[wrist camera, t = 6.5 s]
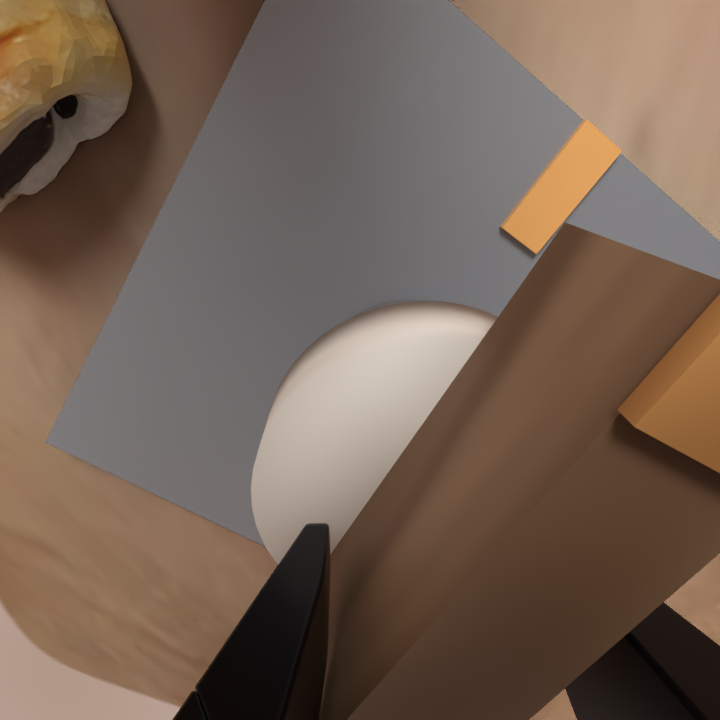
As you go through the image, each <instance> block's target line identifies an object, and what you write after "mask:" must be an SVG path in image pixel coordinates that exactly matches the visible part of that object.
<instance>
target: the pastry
mask: <svg viewBox="0 0 720 720" xmlns="http://www.w3.org/2000/svg"><path fill="white" fill-rule="evenodd" d="M131 88H132V77H131V71H130V66H129V62H128V58H127V54H126V50H125V47H124V44H123V41H122V38H121V36H120V34H119V31H118V29H117V26H116V24H115V22H114V20H113V18H112V16H111V13H110V11H109V8H108V6H107V3H106V1H105V0H0V212H1V211H2V210H3V209H4V208H5V207H6V205H7V204H8V203H10V202H12V201H14V200H15V199H16V198H17V197H18V196H19V195H21V194H25V195H32V194H34V193H37V192H38V191H40V190H41V189H43V188H44V187H45V186H46V185H48V184H49V183H50V182H51V181H52V180H54V179H55V178H56V176H57V174H58V172H59V170H60V169H61V168H62V166H63V165H64V164H65V163H66V162H67V161H69V159H70V157H71V156H72V154H73V152H74V150H75V148H76V146H77V145H78V143H79V142H81V141H84V140H87V139H94V138H96V137H98V136H101V135H102V134H104V133H105V132H107V131H108V130H109V129H110V128H111V126H112V125H113V124H114V123H115V122H116V121H117V120H118V119H119V118H120V117H121V116H122V115H123V114H124V113H125V111H126V108H127V104H128V100H129V96H130V92H131Z"/></svg>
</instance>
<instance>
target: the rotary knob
mask: <svg viewBox="0 0 720 720" xmlns="http://www.w3.org/2000/svg"><path fill="white" fill-rule="evenodd" d="M251 500H252V510H253V514H254V519H255V523H256V526H257V529H258V531H259V534H260V536H261V539H262V541H263V543H264V545H265V547H266V548H267V550H268V552H269V553H270V555H271V557H272V558H273V559H274V561H275V562H276V563H277V564H279V563H280V561H281V560H282V558H283V557H284V555H285V554H286V552H287V551H288V550H289V548H290V547H291V545H292V544H293V542H294V541H295V539H296V538H297V536H298V535H299V533H300V532H301V530H302V529H303V528H304V526H305V525H306V524H308V523H327V524H328V525H329V531H330V601H329V635H328V656H327V665H326V673H325V680H324V688H323V695H322V702H321V709H320V716H319V720H529V719H530V718H531V717H532V716H534V715H535V714H536V713H537V712H538V711H539V710H541V709H542V708H543V707H544V706H545V705H546V704H547V703H549V702H550V701H551V700H552V699H553V698H554V697H555V696H557V695H558V694H559V693H560V692H561V691H562V690H563V689H565V688H566V687H567V686H568V685H569V684H570V683H571V682H573V681H574V680H575V679H576V678H577V677H578V676H579V675H581V674H582V673H583V672H584V671H585V670H586V669H587V668H589V667H590V666H591V665H592V664H593V663H594V662H595V661H597V660H598V659H599V658H600V657H601V656H602V655H603V654H605V653H606V652H607V651H608V650H609V649H610V648H611V647H613V646H614V645H615V644H616V643H617V642H618V641H619V640H621V639H622V638H623V637H624V636H625V635H626V634H627V633H629V632H630V631H631V630H632V629H633V628H634V627H636V626H637V625H638V624H639V623H640V622H641V621H642V620H644V619H645V618H646V617H647V616H648V615H649V614H650V613H652V612H653V611H654V610H655V609H656V608H657V607H658V606H660V605H661V604H662V603H663V602H664V601H665V600H666V599H668V598H669V597H670V596H671V595H672V594H673V593H674V592H676V591H677V590H678V589H679V588H680V587H681V586H682V585H684V584H685V583H686V582H687V581H688V580H689V579H690V578H692V577H693V576H694V575H695V574H696V573H697V572H698V571H700V570H701V569H702V568H703V567H704V566H705V565H706V564H708V563H709V562H710V561H711V560H712V559H713V558H714V557H716V556H717V555H718V554H719V553H720V280H719V279H717V278H714V277H711V276H709V275H706V274H703V273H700V272H698V271H695V270H692V269H690V268H687V267H684V266H682V265H679V264H676V263H673V262H671V261H668V260H665V259H663V258H660V257H657V256H655V255H652V254H649V253H646V252H644V251H641V250H638V249H636V248H633V247H630V246H627V245H625V244H622V243H619V242H617V241H614V240H611V239H609V238H606V237H603V236H600V235H598V234H595V233H592V232H590V231H587V230H584V229H581V228H579V227H576V226H573V225H571V224H568V223H564V224H563V226H562V227H561V229H560V230H559V231H558V233H557V234H556V236H555V237H554V238H553V240H552V241H551V243H550V244H549V246H548V247H547V248H546V250H545V251H544V253H543V254H542V255H541V257H540V258H539V260H538V261H537V263H536V264H535V265H534V267H533V268H532V270H531V271H530V272H529V274H528V275H527V277H526V278H525V280H524V281H523V282H522V284H521V285H520V287H519V288H518V289H517V291H516V292H515V294H514V295H513V297H512V298H511V299H510V301H509V302H508V304H507V305H506V306H505V308H504V309H503V311H502V312H501V313H500V315H499V316H498V317H497V316H495V315H493V314H491V313H489V312H486V311H483V310H480V309H477V308H474V307H470V306H467V305H461V304H456V303H450V302H440V301H415V302H403V303H397V304H392V305H388V306H383V307H378V308H375V309H373V310H370V311H367V312H364V313H361V314H358V315H356V316H354V317H352V318H350V319H348V320H346V321H344V322H342V323H340V324H338V325H336V326H335V327H333V328H332V329H330V330H329V331H327V332H326V333H324V334H323V335H321V336H320V337H319V338H318V339H317V340H316V341H314V342H313V343H312V344H311V345H310V346H309V347H308V348H306V349H305V350H304V352H303V353H302V354H301V355H300V356H299V357H298V358H297V360H296V361H295V362H294V363H293V364H292V366H291V367H290V369H289V370H288V372H287V373H286V375H285V377H284V378H283V380H282V381H281V384H280V386H279V388H278V390H277V393H276V395H275V397H274V400H273V403H272V407H271V410H270V413H269V416H268V420H267V423H266V426H265V430H264V433H263V436H262V439H261V443H260V446H259V449H258V453H257V456H256V460H255V464H254V467H253V473H252V482H251Z"/></svg>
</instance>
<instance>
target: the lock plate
mask: <svg viewBox="0 0 720 720" xmlns="http://www.w3.org/2000/svg"><path fill="white" fill-rule="evenodd" d="M621 152H622V150H620V149H619V148H618V147H617V146H616V145H615V144H614V143H613V142H611V141H610V140H609V139H608V138H607V137H606V136H605V135H604V134H603V133H601V132H600V131H599V130H598V129H597V128H596V127H595V126H594V125H592V124H591V123H590V122H589V121H588V120H583V119H582V118H580V117H579V116H578V115H577V114H576V113H575V112H574V111H573V110H571V109H570V108H569V107H568V106H567V105H566V104H565V103H564V102H562V101H561V100H560V99H559V98H558V97H557V96H556V95H555V94H554V93H552V92H551V91H550V90H549V89H548V88H547V87H546V86H545V85H543V84H542V83H541V82H540V81H539V80H538V79H537V78H536V77H534V76H533V75H532V74H531V73H530V72H529V71H528V70H527V69H525V68H524V67H523V66H522V65H521V64H520V63H519V62H518V61H516V60H515V59H514V58H513V57H512V56H511V55H510V54H509V53H508V52H506V51H505V50H504V49H503V48H502V47H501V46H500V45H499V44H497V43H496V42H495V41H494V40H493V39H492V38H491V37H490V36H488V35H487V34H486V33H485V32H484V31H483V30H482V29H481V28H479V27H478V26H477V25H476V24H475V23H474V22H473V21H472V20H470V19H469V18H468V17H467V16H466V15H465V14H464V13H463V12H462V11H460V10H459V9H458V8H457V7H456V6H455V5H454V4H453V3H451V2H450V1H449V0H265V1H264V3H263V5H262V7H261V9H260V11H259V13H258V15H257V17H256V19H255V21H254V23H253V25H252V27H251V29H250V31H249V33H248V35H247V37H246V39H245V41H244V43H243V45H242V47H241V49H240V51H239V53H238V55H237V57H236V59H235V61H234V63H233V66H232V68H231V70H230V72H229V74H228V76H227V78H226V80H225V82H224V84H223V86H222V88H221V90H220V92H219V94H218V96H217V98H216V100H215V102H214V104H213V106H212V108H211V110H210V112H209V114H208V116H207V118H206V120H205V122H204V124H203V126H202V128H201V130H200V132H199V134H198V136H197V138H196V140H195V142H194V144H193V146H192V148H191V150H190V152H189V154H188V156H187V158H186V160H185V162H184V164H183V166H182V168H181V170H180V172H179V174H178V176H177V178H176V180H175V182H174V184H173V186H172V188H171V190H170V192H169V194H168V196H167V198H166V200H165V202H164V204H163V206H162V208H161V210H160V212H159V214H158V216H157V219H156V221H155V223H154V225H153V227H152V229H151V231H150V233H149V235H148V237H147V239H146V241H145V243H144V245H143V247H142V249H141V251H140V253H139V255H138V257H137V259H136V261H135V263H134V265H133V267H132V269H131V271H130V273H129V275H128V277H127V279H126V281H125V283H124V285H123V287H122V289H121V291H120V293H119V295H118V297H117V299H116V301H115V303H114V305H113V307H112V309H111V311H110V313H109V315H108V317H107V319H106V321H105V323H104V325H103V327H102V329H101V331H100V333H99V335H98V337H97V339H96V341H95V343H94V345H93V347H92V349H91V351H90V353H89V355H88V357H87V359H86V361H85V363H84V365H83V367H82V369H81V372H80V374H79V376H78V378H77V380H76V382H75V384H74V386H73V388H72V390H71V392H70V394H69V396H68V398H67V400H66V402H65V404H64V406H63V408H62V410H61V412H60V414H59V416H58V418H57V420H56V422H55V424H54V426H53V428H52V430H51V432H50V434H49V436H48V438H47V440H46V442H45V443H47V444H49V445H51V446H53V447H56V448H58V449H60V450H62V451H64V452H66V453H68V454H70V455H72V456H75V457H77V458H79V459H81V460H83V461H85V462H87V463H89V464H91V465H94V466H96V467H98V468H100V469H102V470H104V471H106V472H108V473H110V474H113V475H115V476H117V477H119V478H121V479H123V480H125V481H127V482H129V483H132V484H134V485H136V486H138V487H140V488H142V489H144V490H146V491H148V492H151V493H153V494H155V495H157V496H159V497H161V498H163V499H165V500H167V501H170V502H172V503H174V504H176V505H178V506H180V507H182V508H184V509H186V510H188V511H191V512H193V513H195V514H197V515H199V516H201V517H203V518H205V519H207V520H210V521H212V522H214V523H216V524H218V525H220V526H222V527H224V528H226V529H229V530H231V531H233V532H235V533H237V534H239V535H241V536H243V537H245V538H248V539H250V540H252V541H254V542H256V543H258V544H260V545H262V546H264V547H265V545H264V543H263V541H262V539H261V536H260V534H259V531H258V529H257V526H256V523H255V519H254V514H253V510H252V500H251V482H252V473H253V467H254V464H255V460H256V456H257V453H258V449H259V446H260V443H261V439H262V436H263V433H264V430H265V426H266V423H267V420H268V416H269V413H270V410H271V407H272V403H273V400H274V397H275V395H276V393H277V390H278V388H279V386H280V384H281V381H282V380H283V378H284V377H285V375H286V373H287V372H288V370H289V369H290V367H291V366H292V364H293V363H294V362H295V361H296V360H297V358H298V357H299V356H300V355H301V354H302V353H303V352H304V350H305V349H306V348H308V347H309V346H310V345H311V344H312V343H313V342H314V341H316V340H317V339H318V338H319V337H320V336H321V335H323V334H324V333H326V332H327V331H329V330H330V329H332V328H333V327H335V326H336V325H338V324H340V323H342V322H344V321H346V320H348V319H350V318H352V317H354V316H356V315H358V314H361V313H364V312H367V311H370V310H373V309H375V308H378V307H383V306H388V305H392V304H397V303H403V302H415V301H440V302H450V303H456V304H461V305H467V306H470V307H474V308H477V309H480V310H483V311H486V312H489V313H491V314H493V315H495V316H497V317H498V316H499V315H500V313H501V312H502V311H503V309H504V308H505V306H506V305H507V304H508V302H509V301H510V299H511V298H512V297H513V295H514V294H515V292H516V291H517V289H518V288H519V287H520V285H521V284H522V282H523V281H524V280H525V278H526V277H527V275H528V274H529V272H530V271H531V270H532V268H533V267H534V265H535V264H536V263H537V261H538V260H539V258H540V257H541V255H542V254H543V253H544V251H545V250H546V248H547V247H548V246H549V244H550V243H551V241H552V240H553V238H554V237H555V236H556V234H557V233H558V231H559V230H560V229H561V227H562V226H563V224H564V223H568V224H571V225H573V226H576V227H579V228H581V229H584V230H587V231H590V232H592V233H595V234H598V235H600V236H603V237H606V238H609V239H611V240H614V241H617V242H619V243H622V244H625V245H627V246H630V247H633V248H636V249H638V250H641V251H644V252H646V253H649V254H652V255H655V256H657V257H660V258H663V259H665V260H668V261H671V262H673V263H676V264H679V265H682V266H684V267H687V268H690V269H692V270H695V271H698V272H700V273H703V274H706V275H709V276H711V277H714V278H717V279H719V280H720V241H718V240H717V239H716V238H715V237H714V236H713V235H712V234H711V233H709V232H708V231H707V230H706V229H705V228H704V227H703V226H702V225H700V224H699V223H698V222H697V221H696V220H695V219H694V218H693V217H691V216H690V215H689V214H688V213H687V212H686V211H685V210H684V209H682V208H681V207H680V206H679V205H678V204H677V203H676V202H675V201H674V200H672V199H671V198H670V197H669V196H668V195H667V194H666V193H665V192H663V191H662V190H661V189H660V188H659V187H658V186H657V185H656V184H654V183H653V182H652V181H651V180H650V179H649V178H648V177H647V176H645V175H644V174H643V173H642V172H641V171H640V170H639V169H638V168H637V167H635V166H634V165H633V164H632V163H631V162H630V161H629V160H628V159H626V158H625V157H624V156H623V155H622V154H621Z"/></svg>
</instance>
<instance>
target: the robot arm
mask: <svg viewBox="0 0 720 720" xmlns="http://www.w3.org/2000/svg"><path fill="white" fill-rule="evenodd" d="M329 601H330V531H329V525H328V524H327V523H308V524H306V525H305V526H304V528H303V529H302V530H301V532H300V533H299V535H298V536H297V538H296V539H295V541H294V542H293V544H292V545H291V547H290V548H289V550H288V551H287V552H286V554H285V555H284V557H283V558H282V560H281V561H280V563H279V564H278V566H277V567H276V569H275V570H274V572H273V573H272V575H271V576H270V577H269V579H268V580H267V582H266V583H265V585H264V586H263V588H262V589H261V591H260V592H259V594H258V595H257V597H256V598H255V600H254V601H253V602H252V604H251V605H250V607H249V608H248V610H247V611H246V613H245V614H244V616H243V617H242V619H241V620H240V622H239V623H238V625H237V626H236V627H235V629H234V630H233V632H232V633H231V635H230V636H229V638H228V639H227V641H226V642H225V644H224V645H223V647H222V648H221V650H220V651H219V652H218V654H217V655H216V657H215V658H214V660H213V661H212V663H211V664H210V666H209V667H208V669H207V670H206V672H205V673H204V675H203V676H202V677H201V679H200V680H199V682H198V683H197V685H196V687H195V690H196V691H192V692H191V693H190V695H189V696H188V698H187V699H186V701H185V702H184V704H183V705H182V707H181V708H180V710H179V711H178V712H177V714H176V716H175V717H174V718H173V720H319V716H320V709H321V702H322V695H323V688H324V680H325V673H326V665H327V656H328V635H329ZM565 689H566V692H567V694H568V697H569V700H570V702H571V705H572V707H573V710H574V713H575V715H576V718H577V720H720V646H719V645H718V644H717V643H715V642H714V641H713V640H711V639H710V638H709V637H708V636H706V635H705V634H704V633H702V632H701V631H700V630H699V629H697V628H696V627H695V626H693V625H692V624H691V623H690V622H688V621H687V620H686V619H684V618H683V617H682V616H681V615H679V614H678V613H677V612H675V611H674V610H673V609H672V608H670V607H669V606H668V605H667V604H665V603H664V602H663V603H662V604H661V605H660V606H658V607H657V608H656V609H655V610H654V611H653V612H652V613H650V614H649V615H648V616H647V617H646V618H645V619H644V620H642V621H641V622H640V623H639V624H638V625H637V626H636V627H634V628H633V629H632V630H631V631H630V632H629V633H627V634H626V635H625V636H624V637H623V638H622V639H621V640H619V641H618V642H617V643H616V644H615V645H614V646H613V647H611V648H610V649H609V650H608V651H607V652H606V653H605V654H603V655H602V656H601V657H600V658H599V659H598V660H597V661H595V662H594V663H593V664H592V665H591V666H590V667H589V668H587V669H586V670H585V671H584V672H583V673H582V674H581V675H579V676H578V677H577V678H576V679H575V680H574V681H573V682H571V683H570V684H569V685H568V686H567V687H566V688H565Z"/></svg>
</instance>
